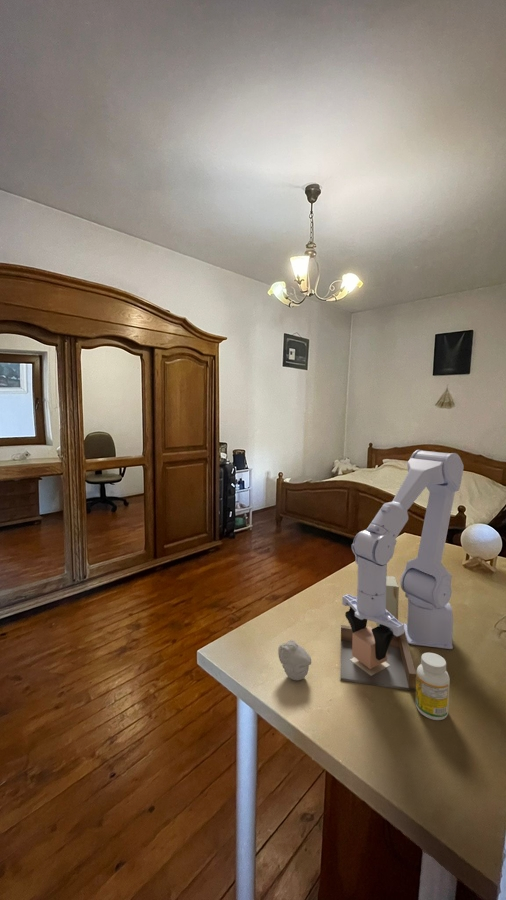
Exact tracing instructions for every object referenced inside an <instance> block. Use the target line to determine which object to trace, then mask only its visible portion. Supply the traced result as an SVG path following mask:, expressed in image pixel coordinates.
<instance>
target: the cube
mask: <svg viewBox="0 0 506 900" xmlns="http://www.w3.org/2000/svg"><path fill="white" fill-rule="evenodd" d="M372 629H373V627H371V626H370V625H369V626H366V628H364V629H361V630H359V631H357V632H354V633H353V638H352V655H353V656H354V657H355V658H356V659H358V660H359V661H360V662H362V663H363V664H364V665H366V666H367V667H368V668H369V669H371V668H373V667H375V666H377V665H379V664H381V663H383V662H385V661H387V653H386V657H385V658H383V659H381V660H377V659H376V654H375V639H374V635H373V633H372Z"/></svg>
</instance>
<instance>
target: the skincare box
mask: <svg viewBox="0 0 506 900" xmlns="http://www.w3.org/2000/svg"><path fill="white" fill-rule="evenodd" d="M399 588H400V586H399V582H398V580H397V579H396V577H395V576H392V575H391V576H389V575H387V578H386V610H387V611H388V612H389V613H391V614H392V615H393V616H394V617H395V618H396V619H397V620H398V621H399V598H400V597H399V595H400V594H399V593H400V591H399ZM376 625H377V626H376V627H378V626H379V623H376Z"/></svg>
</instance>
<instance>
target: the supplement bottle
mask: <svg viewBox="0 0 506 900" xmlns="http://www.w3.org/2000/svg"><path fill="white" fill-rule="evenodd" d="M450 681H451V679H450V675H449V673H448V671H447V661H446V659H445V658H444V657H442V656H441V655H439V654H437V653H434V652H424V653H422V654H421V657H420V664H419V665H418V666H417V668H416V690H415V706H416V708H417V710H418V712H419V714H421V715H423V716H424V717H426V718H428V719H430V720H432V721H441V720H442V721H443V720H445V719H446V718H447V717H448V715H449V703H450V702H449V701H450V699H449V697H450Z"/></svg>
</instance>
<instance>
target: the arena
mask: <svg viewBox="0 0 506 900" xmlns="http://www.w3.org/2000/svg"><path fill="white" fill-rule="evenodd" d="M352 638H353V632H352V628H351V626H350V625H345V624H344V625H343V624H341V625H340V679H339V681H344V682H351V683H357V684H362V685H363V684H364V685H365V684H366V685H371V686H378V687H383V688H391V689H399V690H404V691H410V692H416V676H417V671H416V669H415V665H414V663H413V658H412V655H411V651H410V647H409V643H408V642H407V638H406V635H405V631H404V634H402V635H400V636H395V635H394V637H393V639H392V640H391V642H390V644H389V647H388V650H387V661H385V662H383V663H381V664H379V665H377V666H375V667H373V668H371V669H369V668H368V667H367V666H366V665H364V664H363V663H362V662H360V661H359V660H358V659H356V658H355V657H354V656H353V655H352Z"/></svg>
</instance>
